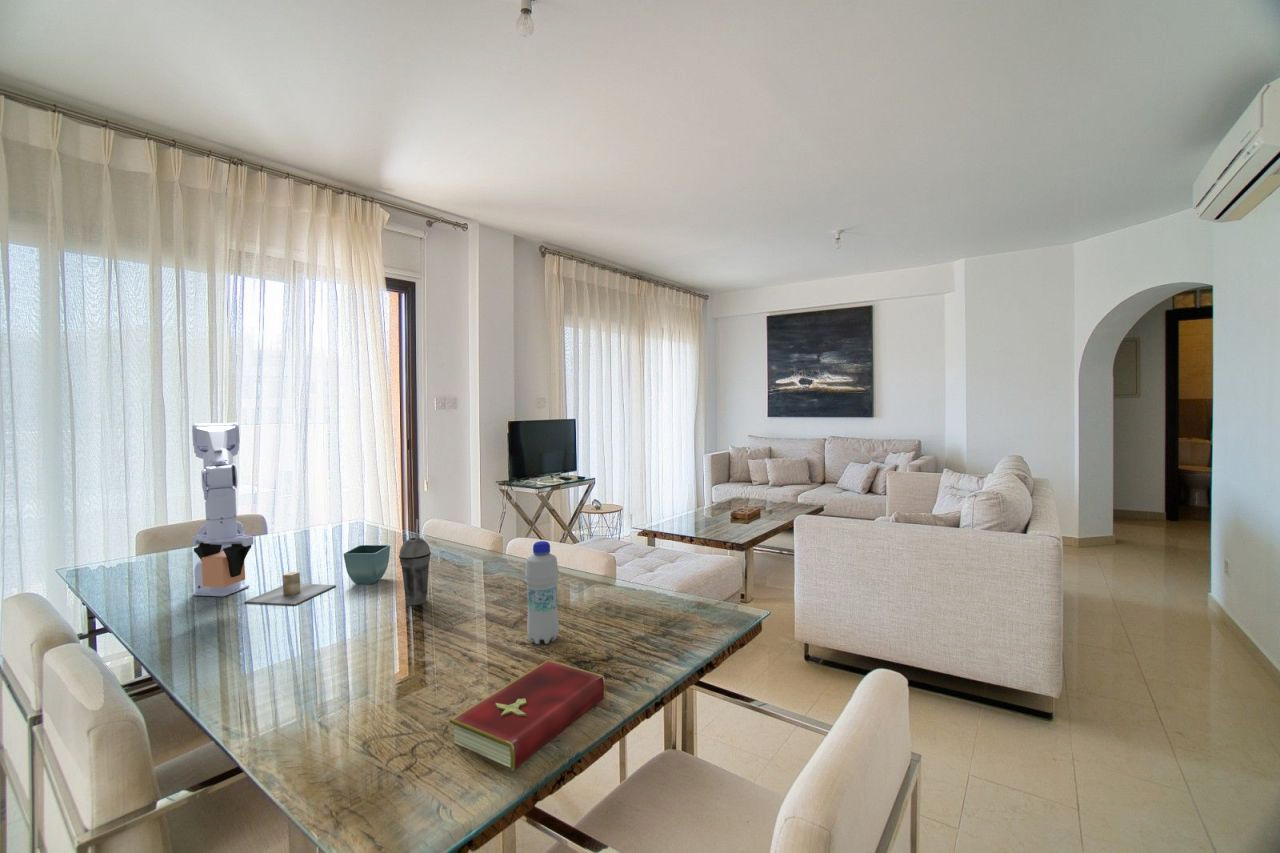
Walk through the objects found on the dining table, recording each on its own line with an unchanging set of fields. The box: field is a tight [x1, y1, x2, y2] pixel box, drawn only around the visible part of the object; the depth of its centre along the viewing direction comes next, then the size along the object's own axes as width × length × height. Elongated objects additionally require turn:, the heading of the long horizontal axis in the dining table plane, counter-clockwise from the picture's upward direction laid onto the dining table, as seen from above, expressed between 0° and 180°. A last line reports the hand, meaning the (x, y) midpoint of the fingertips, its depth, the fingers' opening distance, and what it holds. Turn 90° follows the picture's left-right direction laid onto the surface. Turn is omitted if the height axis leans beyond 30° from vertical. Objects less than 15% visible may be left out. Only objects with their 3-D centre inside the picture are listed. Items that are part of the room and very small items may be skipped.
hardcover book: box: [449, 659, 607, 772], centre depth 84 cm, size 12×21×4 cm, turn 149°
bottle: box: [524, 540, 560, 645], centre depth 112 cm, size 7×7×20 cm
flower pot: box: [343, 544, 391, 585], centre depth 152 cm, size 9×9×9 cm
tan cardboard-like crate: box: [200, 551, 246, 587], centre depth 130 cm, size 6×6×7 cm
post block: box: [244, 571, 337, 607], centre depth 142 cm, size 14×14×5 cm
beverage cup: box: [398, 518, 432, 606], centre depth 135 cm, size 7×7×20 cm
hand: (224, 575), depth 130 cm, fingers closed on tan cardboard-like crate, 6 cm apart
